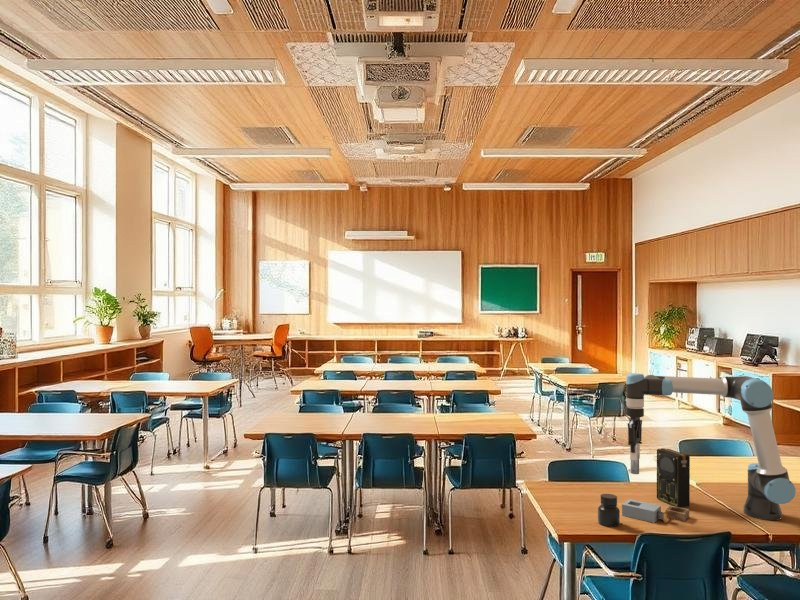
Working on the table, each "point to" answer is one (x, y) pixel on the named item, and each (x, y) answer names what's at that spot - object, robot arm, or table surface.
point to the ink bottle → (609, 511)
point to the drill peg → (635, 462)
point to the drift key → (663, 516)
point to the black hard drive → (673, 477)
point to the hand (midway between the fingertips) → (634, 458)
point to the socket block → (640, 510)
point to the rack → (678, 513)
